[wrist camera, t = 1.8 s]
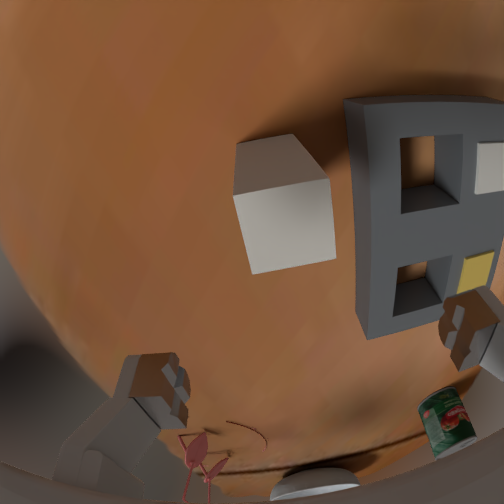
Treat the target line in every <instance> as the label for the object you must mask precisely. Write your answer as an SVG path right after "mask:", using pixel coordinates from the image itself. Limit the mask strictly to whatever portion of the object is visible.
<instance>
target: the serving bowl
mask: <svg viewBox="0 0 504 504" xmlns="http://www.w3.org/2000/svg"><path fill="white" fill-rule="evenodd" d="M356 486H360V483H359V480H358V479H357V477H356V476H355V475H354V474H353V473H352V472H350V471H348V470H345V469H342V468H314V469H308V470H304V471H301V472H298V473H296V474H293V475H290V476H288V477H286V478H284V479H282V480H281V481H279V482H278V483H277V484H276V485H275V486H274V488H273V490H272V492H271V496H270V501H274V500H283V499H292V498H299V497H306V496H312V495H318V494H323V493H329V492H334V491H338V490H343V489H348V488H352V487H356Z"/></svg>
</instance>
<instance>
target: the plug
mask: <svg viewBox="0 0 504 504" xmlns="http://www.w3.org/2000/svg"><path fill="white" fill-rule="evenodd" d="M233 198H234V202H235V206H236V211H237V215H238V219H239V223H240V227H241V231H242V235H243V239H244V243H245V247H246V251H247V255H248V259H249V263H250V267H251V271H252V274H258V273H263V272H269V271H274V270H279V269H285V268H290V267H295V266H300V265H306V264H311V263H316V262H321V261H326V260H331V259H336V247H335V233H334V221H333V210H332V199H331V189H330V180H329V177H328V176H327V174H326V173H325V172H324V171H323V169H322V168H321V167H320V166H319V165H318V163H317V162H316V161H315V160H314V158H313V157H312V156H311V155H310V154H309V152H308V151H307V150H306V149H305V148H304V146H303V145H302V144H301V143H300V142H299V140H298V139H297V138H296V137H295V136H294V135H293V133H292V134H286V135H280V136H275V137H269V138H264V139H259V140H254V141H249V142H244V143H239V144H236V157H235V171H234V186H233Z"/></svg>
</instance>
